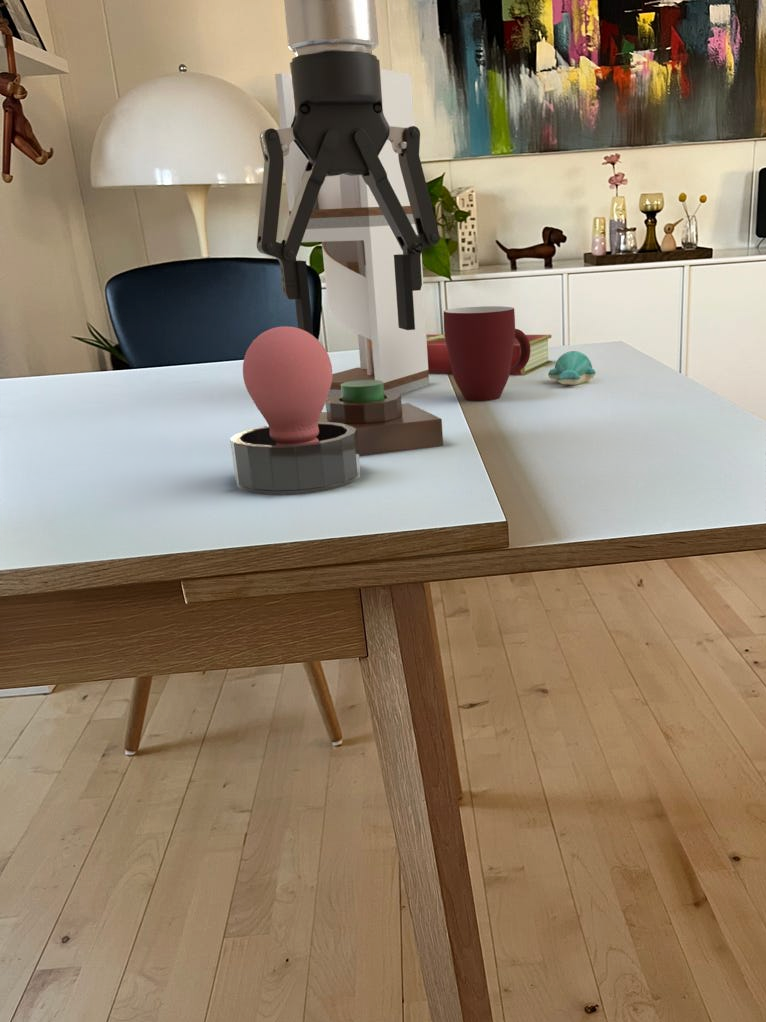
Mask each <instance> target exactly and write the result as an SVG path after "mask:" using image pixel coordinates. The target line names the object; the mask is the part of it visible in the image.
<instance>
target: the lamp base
mask: <svg viewBox="0 0 766 1022" xmlns="http://www.w3.org/2000/svg"><path fill="white" fill-rule="evenodd" d="M384 396H385V399H382V400H377V401H369V402H343V401H342V395H337V396H333V397H330V398H327V399H326V402H325V411H322V412H321V415H320V417H319V420H318V422H334V423H341V424H347V425H351V426H352V427H354V428H356V429H357V435H358V447H359V457H365V456H372V455H373V456H374V455H380V454H381V455H382V454H389V453H397V452H405V451H414V450H422V449H430V448H438V447H444V436H443V419H442V418H441V417H439V416H437V415H435V414H432V413H431V412H428V411H426V410H425V409H422V408H420V407H419V406H416V405H413V404H411V403H410V402H407V403H406V402H405V403H402V394H400V395H398V394H396V393H390V392H384Z"/></svg>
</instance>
